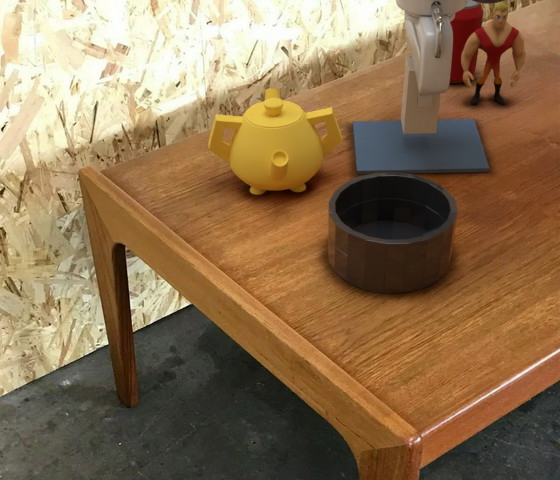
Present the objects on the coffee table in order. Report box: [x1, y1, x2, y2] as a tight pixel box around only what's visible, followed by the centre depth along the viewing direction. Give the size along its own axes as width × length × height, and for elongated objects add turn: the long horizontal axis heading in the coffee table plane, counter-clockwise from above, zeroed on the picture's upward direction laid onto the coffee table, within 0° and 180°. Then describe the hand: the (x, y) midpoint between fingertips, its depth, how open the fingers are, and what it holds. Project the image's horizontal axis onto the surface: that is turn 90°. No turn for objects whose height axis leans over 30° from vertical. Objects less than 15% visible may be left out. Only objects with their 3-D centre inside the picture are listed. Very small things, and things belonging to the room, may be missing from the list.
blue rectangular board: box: [352, 118, 490, 175], centre depth 113 cm, size 18×14×1 cm
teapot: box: [207, 87, 343, 196], centre depth 105 cm, size 20×18×11 cm
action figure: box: [461, 1, 526, 106], centre depth 117 cm, size 10×4×15 cm, turn 87°
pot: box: [327, 172, 459, 295], centre depth 93 cm, size 15×15×7 cm
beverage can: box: [449, 0, 485, 84], centre depth 125 cm, size 7×7×12 cm
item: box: [400, 55, 442, 134], centre depth 108 cm, size 4×4×9 cm
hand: (421, 95), depth 108 cm, fingers closed on item, 4 cm apart
